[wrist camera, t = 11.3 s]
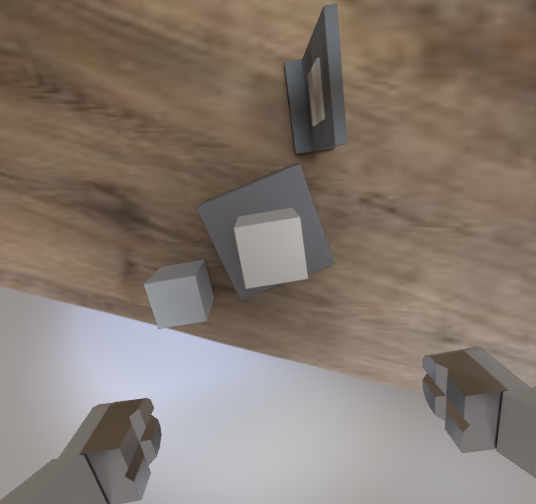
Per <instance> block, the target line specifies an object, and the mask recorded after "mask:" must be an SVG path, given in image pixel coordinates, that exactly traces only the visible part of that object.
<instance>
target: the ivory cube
mask: <svg viewBox="0 0 536 504" xmlns="http://www.w3.org/2000/svg"><path fill="white" fill-rule="evenodd" d="M234 232H235V237H236V242H237V247H238V252H239V257H240V262H241V267H242V272H243V277H244V282H245V287H246V289H248V288H254V287H261V286H267V285H273V284H279V283H286V282H292V281H298V280H304V279H308V275H307V267H306V259H305V251H304V243H303V236H302V228H301V220H300V216H299V215H298V214H297V213H296V211H295V210H294V209H293V208H287V209H281V210H275V211H269V212H263V213H257V214H251V215H245V216H239V217H238V219H237V221H236V224H235V226H234Z"/></svg>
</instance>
